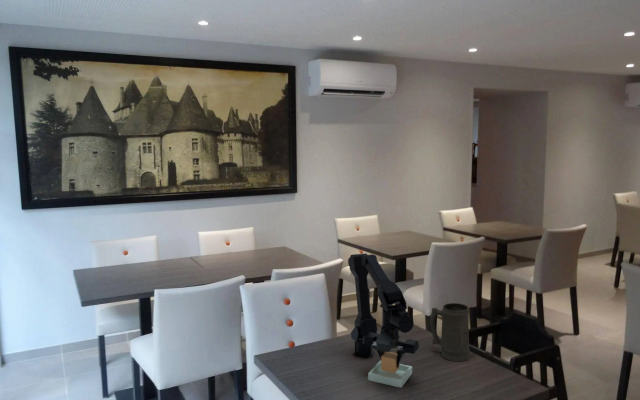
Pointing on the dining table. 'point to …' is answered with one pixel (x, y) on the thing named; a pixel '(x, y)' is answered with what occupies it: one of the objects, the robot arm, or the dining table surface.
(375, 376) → the sage tray
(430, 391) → the dining table surface
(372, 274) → the robot arm
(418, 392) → the dining table surface
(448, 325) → the beer stein
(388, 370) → the orange cube
